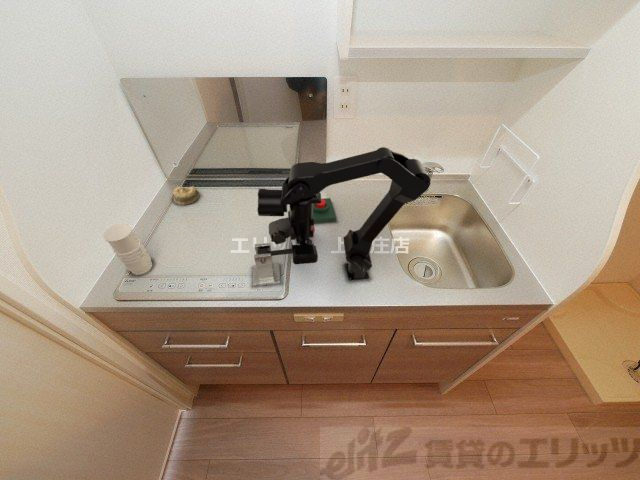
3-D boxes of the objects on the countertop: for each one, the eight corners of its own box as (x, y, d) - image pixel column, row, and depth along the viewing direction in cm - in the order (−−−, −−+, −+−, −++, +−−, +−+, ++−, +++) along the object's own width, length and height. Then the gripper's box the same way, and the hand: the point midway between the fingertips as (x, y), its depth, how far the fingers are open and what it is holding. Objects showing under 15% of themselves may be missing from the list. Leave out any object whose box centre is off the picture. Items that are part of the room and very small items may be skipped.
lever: (307, 248, 79) (306, 241, 77) (308, 257, 77) (308, 249, 75) (259, 254, 78) (257, 246, 75) (259, 262, 75) (257, 255, 73)
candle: (150, 274, 81) (127, 240, 70) (125, 277, 80) (98, 242, 69) (156, 257, 86) (135, 222, 75) (133, 259, 85) (108, 224, 74)
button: (326, 208, 101) (326, 204, 100) (316, 208, 101) (316, 204, 99) (324, 202, 104) (324, 198, 102) (315, 202, 103) (315, 199, 102)
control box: (335, 221, 101) (336, 213, 98) (309, 223, 100) (309, 215, 97) (330, 202, 110) (330, 194, 107) (305, 203, 108) (305, 195, 105)
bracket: (279, 265, 86) (276, 239, 77) (280, 283, 81) (277, 258, 72) (253, 267, 85) (248, 242, 76) (253, 286, 80) (247, 260, 71)
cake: (199, 204, 106) (195, 194, 102) (172, 207, 104) (167, 197, 100) (200, 188, 112) (196, 177, 108) (175, 191, 110) (170, 180, 106)
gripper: (268, 193, 72) (272, 234, 84) (269, 243, 60) (275, 284, 71) (309, 191, 74) (308, 231, 85) (319, 239, 61) (316, 279, 72)
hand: (301, 254), depth 78 cm, fingers closed on lever, 3 cm apart
